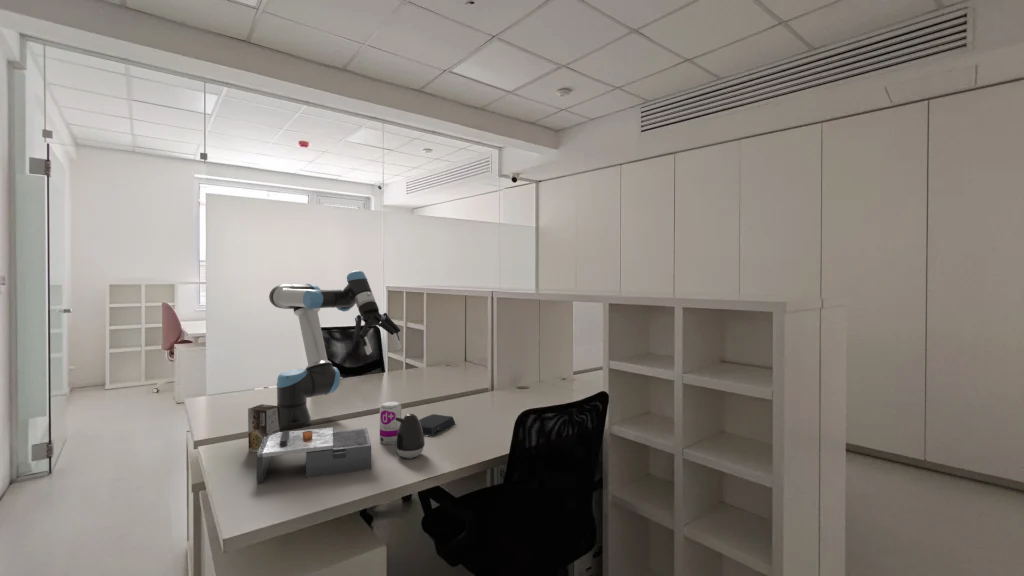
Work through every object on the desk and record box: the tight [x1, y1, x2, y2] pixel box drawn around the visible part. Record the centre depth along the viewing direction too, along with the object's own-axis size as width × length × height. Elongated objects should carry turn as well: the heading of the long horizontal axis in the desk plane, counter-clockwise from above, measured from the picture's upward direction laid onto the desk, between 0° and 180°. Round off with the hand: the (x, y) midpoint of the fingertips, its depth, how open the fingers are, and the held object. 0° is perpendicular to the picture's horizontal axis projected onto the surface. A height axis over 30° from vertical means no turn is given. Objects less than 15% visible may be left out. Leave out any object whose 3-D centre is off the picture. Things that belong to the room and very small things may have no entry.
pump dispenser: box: [395, 413, 426, 459], centre depth 168 cm, size 10×10×15 cm
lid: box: [256, 426, 334, 484], centre depth 157 cm, size 22×20×11 cm
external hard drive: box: [419, 413, 456, 438], centre depth 200 cm, size 13×19×4 cm
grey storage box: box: [305, 427, 372, 478], centre depth 161 cm, size 20×24×8 cm
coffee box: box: [247, 404, 281, 454], centre depth 172 cm, size 9×6×16 cm
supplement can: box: [379, 400, 402, 445], centre depth 183 cm, size 8×8×15 cm
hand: (384, 351), depth 183 cm, fingers open, 13 cm apart
